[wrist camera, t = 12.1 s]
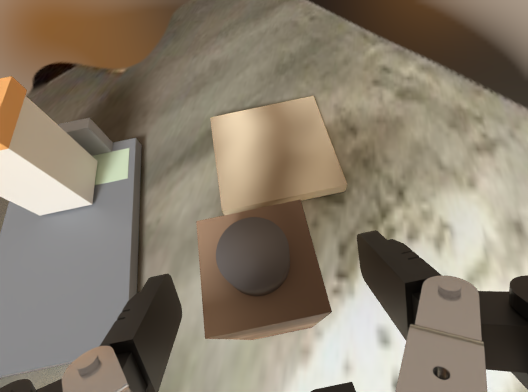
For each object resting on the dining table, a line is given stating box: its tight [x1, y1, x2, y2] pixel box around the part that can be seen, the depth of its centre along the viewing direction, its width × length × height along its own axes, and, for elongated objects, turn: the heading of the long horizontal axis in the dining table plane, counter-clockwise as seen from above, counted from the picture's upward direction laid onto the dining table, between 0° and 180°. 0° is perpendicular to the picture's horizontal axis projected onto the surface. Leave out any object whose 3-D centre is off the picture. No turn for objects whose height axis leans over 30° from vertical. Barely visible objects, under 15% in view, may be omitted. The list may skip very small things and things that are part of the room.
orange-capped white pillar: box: [0, 76, 98, 216], centre depth 18 cm, size 4×4×8 cm
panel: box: [0, 118, 142, 378], centre depth 19 cm, size 10×16×4 cm, turn 11°
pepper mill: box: [196, 200, 332, 340], centre depth 12 cm, size 4×4×11 cm
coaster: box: [210, 96, 347, 215], centre depth 22 cm, size 9×9×1 cm
